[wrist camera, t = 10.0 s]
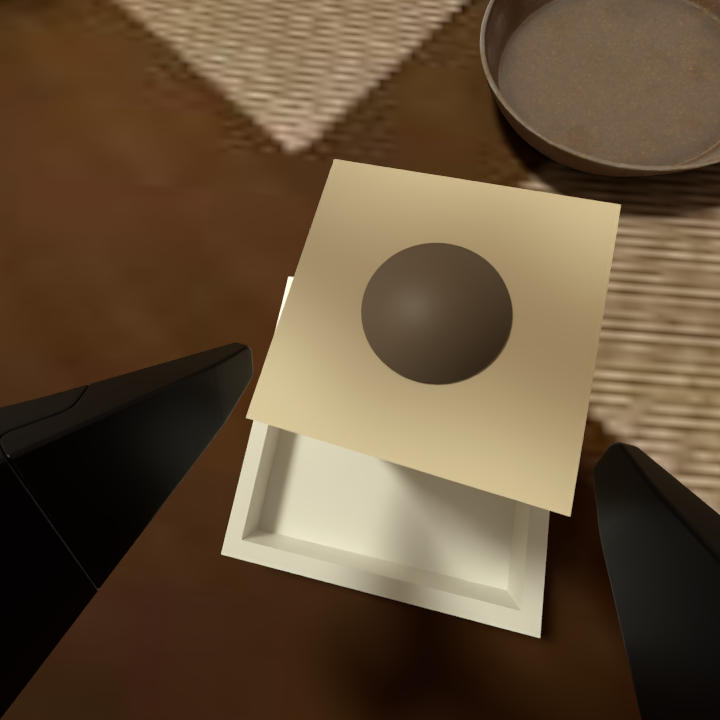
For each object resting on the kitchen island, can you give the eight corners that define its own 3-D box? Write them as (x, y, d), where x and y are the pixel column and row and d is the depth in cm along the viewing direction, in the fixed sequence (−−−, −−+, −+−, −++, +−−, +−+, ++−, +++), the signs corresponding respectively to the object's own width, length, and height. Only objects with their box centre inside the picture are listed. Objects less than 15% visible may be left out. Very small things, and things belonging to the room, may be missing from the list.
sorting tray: (519, 607, 16) (540, 638, 14) (244, 538, 18) (221, 554, 16) (543, 327, 19) (564, 311, 16) (301, 294, 21) (288, 276, 18)
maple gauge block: (446, 456, 17) (572, 518, 5) (352, 429, 18) (244, 417, 5) (467, 363, 18) (623, 202, 6) (377, 341, 19) (333, 156, 6)
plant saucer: (781, -11, 22) (840, -80, 19) (761, 231, 19) (828, 193, 16) (499, -27, 25) (513, -89, 22) (442, 180, 22) (449, 140, 19)
